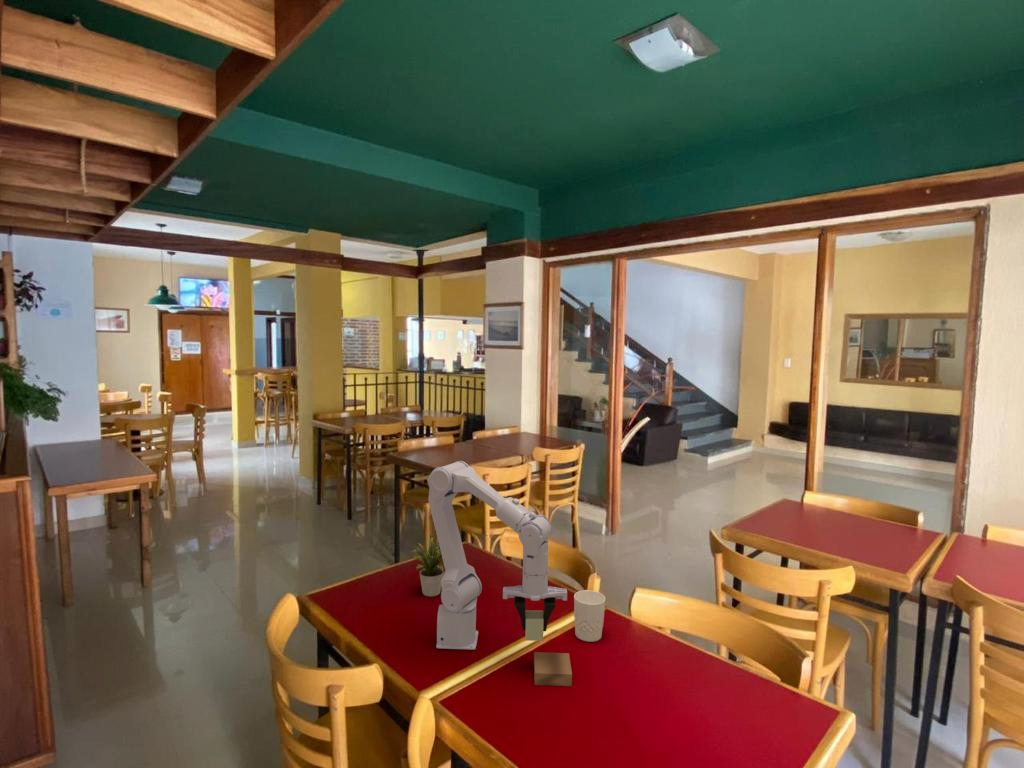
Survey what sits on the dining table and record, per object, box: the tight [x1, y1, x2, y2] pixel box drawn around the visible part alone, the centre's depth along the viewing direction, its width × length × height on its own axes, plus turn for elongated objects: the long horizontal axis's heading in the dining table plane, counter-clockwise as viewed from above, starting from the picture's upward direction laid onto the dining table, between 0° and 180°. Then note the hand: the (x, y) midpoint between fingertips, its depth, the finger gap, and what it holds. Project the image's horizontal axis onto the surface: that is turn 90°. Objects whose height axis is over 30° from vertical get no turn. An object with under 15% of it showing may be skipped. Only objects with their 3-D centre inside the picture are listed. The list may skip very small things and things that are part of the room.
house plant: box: [412, 536, 445, 597], centre depth 155 cm, size 14×14×16 cm
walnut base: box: [533, 651, 573, 687], centre depth 119 cm, size 8×8×3 cm
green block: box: [524, 609, 544, 642], centre depth 122 cm, size 4×4×5 cm
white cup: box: [573, 589, 606, 643], centre depth 135 cm, size 8×8×10 cm
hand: (534, 628), depth 122 cm, fingers closed on green block, 4 cm apart
